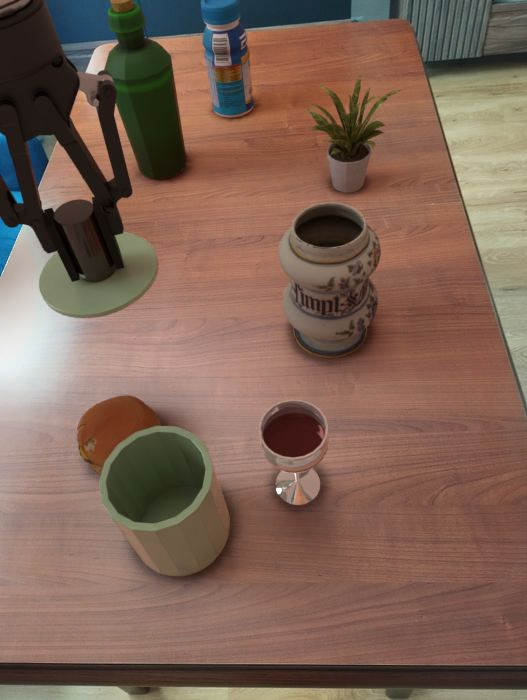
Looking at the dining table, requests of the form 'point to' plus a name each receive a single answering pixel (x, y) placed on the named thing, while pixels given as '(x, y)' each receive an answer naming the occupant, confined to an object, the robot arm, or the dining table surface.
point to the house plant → (349, 138)
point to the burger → (111, 427)
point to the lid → (95, 267)
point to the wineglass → (294, 447)
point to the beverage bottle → (227, 58)
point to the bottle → (145, 93)
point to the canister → (166, 499)
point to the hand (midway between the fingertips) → (96, 265)
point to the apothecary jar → (330, 278)
